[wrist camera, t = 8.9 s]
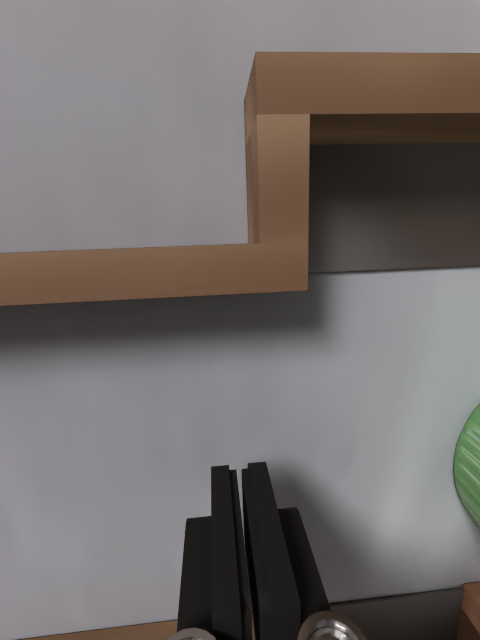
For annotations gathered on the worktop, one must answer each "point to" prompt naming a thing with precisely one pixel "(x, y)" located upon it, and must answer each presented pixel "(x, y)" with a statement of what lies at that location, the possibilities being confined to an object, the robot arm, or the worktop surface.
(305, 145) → the box
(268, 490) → the robot arm
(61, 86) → the worktop surface
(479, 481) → the ramekin
